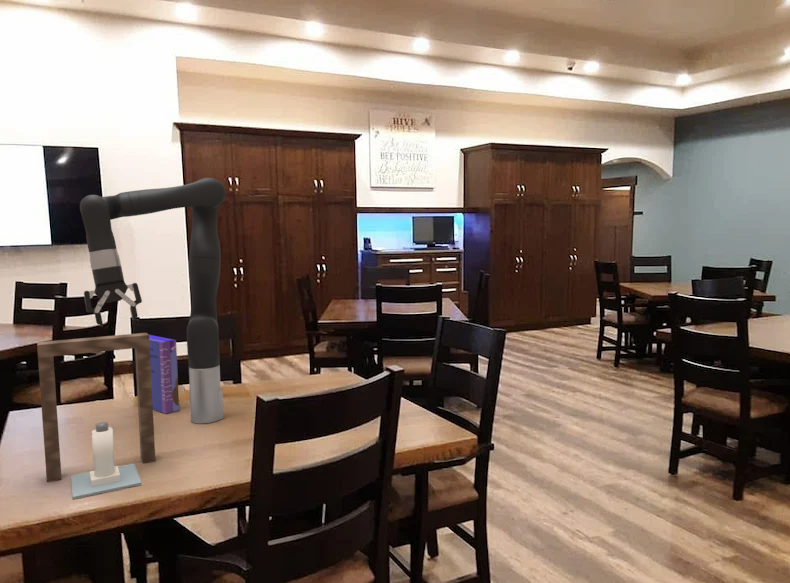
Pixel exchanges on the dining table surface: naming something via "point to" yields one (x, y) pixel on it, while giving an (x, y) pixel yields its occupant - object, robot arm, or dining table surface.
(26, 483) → the dining table surface
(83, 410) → the dining table surface
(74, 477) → the mat
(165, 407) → the cereal box
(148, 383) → the archway
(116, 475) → the white tall cylinder
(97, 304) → the robot arm
